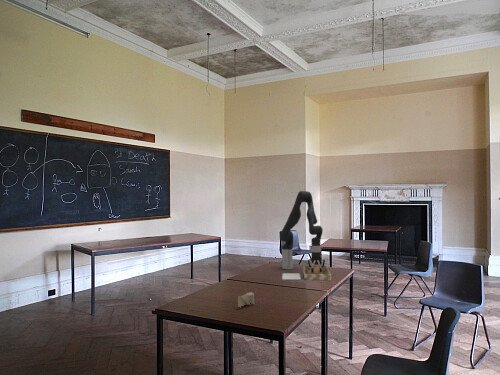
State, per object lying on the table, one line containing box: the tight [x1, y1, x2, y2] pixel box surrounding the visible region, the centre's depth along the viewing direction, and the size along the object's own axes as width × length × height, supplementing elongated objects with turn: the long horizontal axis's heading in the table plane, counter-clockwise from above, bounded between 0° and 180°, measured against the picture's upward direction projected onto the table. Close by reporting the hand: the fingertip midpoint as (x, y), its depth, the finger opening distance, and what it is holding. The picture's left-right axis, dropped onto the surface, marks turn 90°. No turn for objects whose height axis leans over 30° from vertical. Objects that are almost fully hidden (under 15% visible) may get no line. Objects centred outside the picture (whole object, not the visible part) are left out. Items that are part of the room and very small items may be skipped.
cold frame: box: [302, 265, 332, 281], centre depth 288 cm, size 20×20×7 cm
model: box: [237, 291, 255, 308], centre depth 215 cm, size 3×11×8 cm, turn 141°
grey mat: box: [281, 272, 301, 281], centre depth 290 cm, size 14×20×1 cm
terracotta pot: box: [313, 264, 321, 274], centre depth 288 cm, size 6×6×8 cm
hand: (316, 272), depth 288 cm, fingers closed on terracotta pot, 5 cm apart
